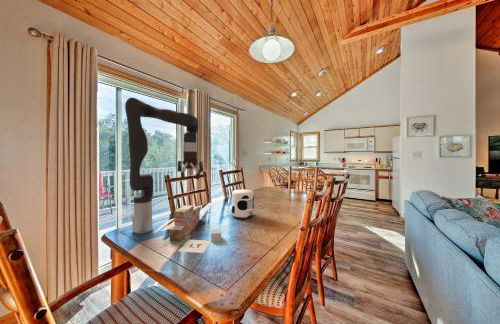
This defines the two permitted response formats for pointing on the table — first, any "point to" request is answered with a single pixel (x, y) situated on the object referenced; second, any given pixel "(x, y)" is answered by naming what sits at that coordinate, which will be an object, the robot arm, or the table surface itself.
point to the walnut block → (177, 233)
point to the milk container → (243, 203)
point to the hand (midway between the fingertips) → (190, 179)
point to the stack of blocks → (186, 216)
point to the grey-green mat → (176, 241)
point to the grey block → (215, 235)
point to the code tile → (195, 246)
